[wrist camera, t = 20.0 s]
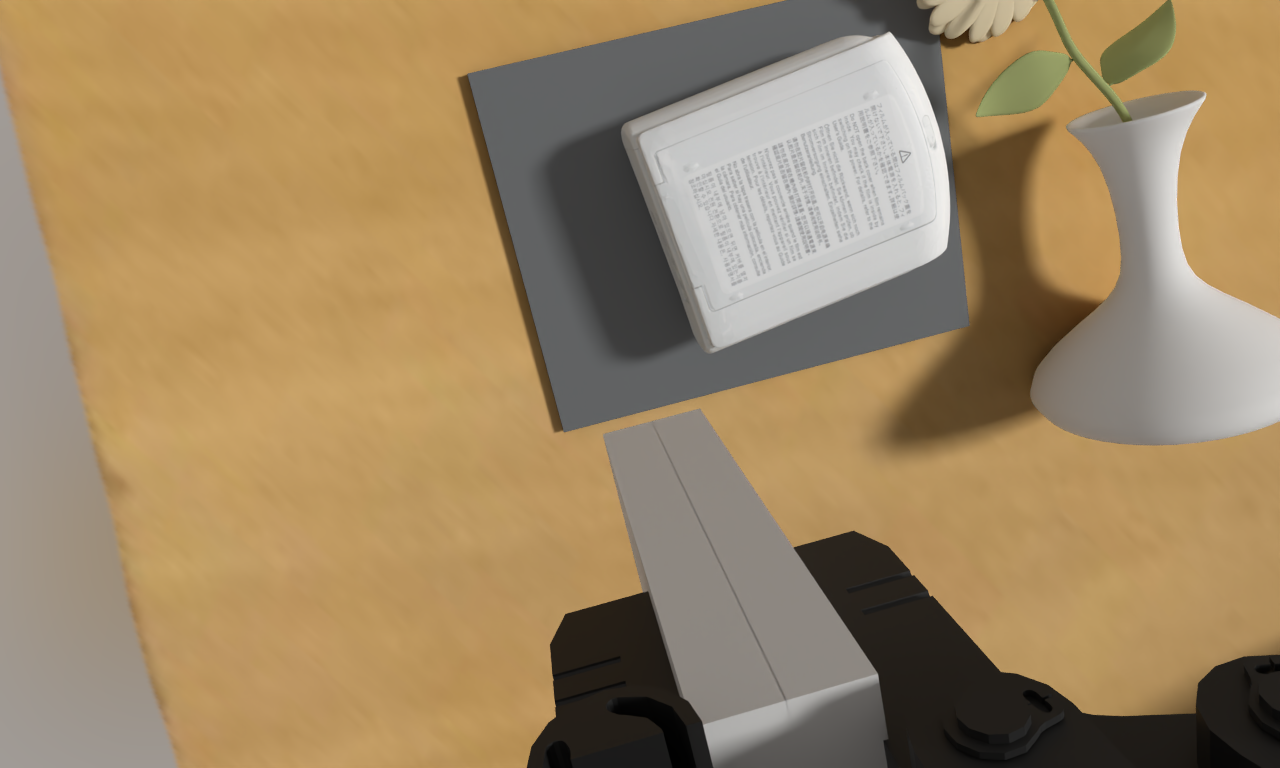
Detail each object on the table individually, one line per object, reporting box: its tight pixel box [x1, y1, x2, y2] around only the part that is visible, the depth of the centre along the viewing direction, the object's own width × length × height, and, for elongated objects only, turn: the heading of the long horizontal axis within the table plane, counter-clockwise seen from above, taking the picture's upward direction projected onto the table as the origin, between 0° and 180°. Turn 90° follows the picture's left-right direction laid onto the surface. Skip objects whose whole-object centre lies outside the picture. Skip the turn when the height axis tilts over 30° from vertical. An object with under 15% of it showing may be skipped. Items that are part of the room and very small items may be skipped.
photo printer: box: [621, 32, 950, 353], centre depth 36 cm, size 10×4×12 cm
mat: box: [468, 0, 970, 432], centre depth 39 cm, size 20×16×1 cm
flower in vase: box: [917, 0, 1280, 445], centre depth 36 cm, size 13×11×25 cm
